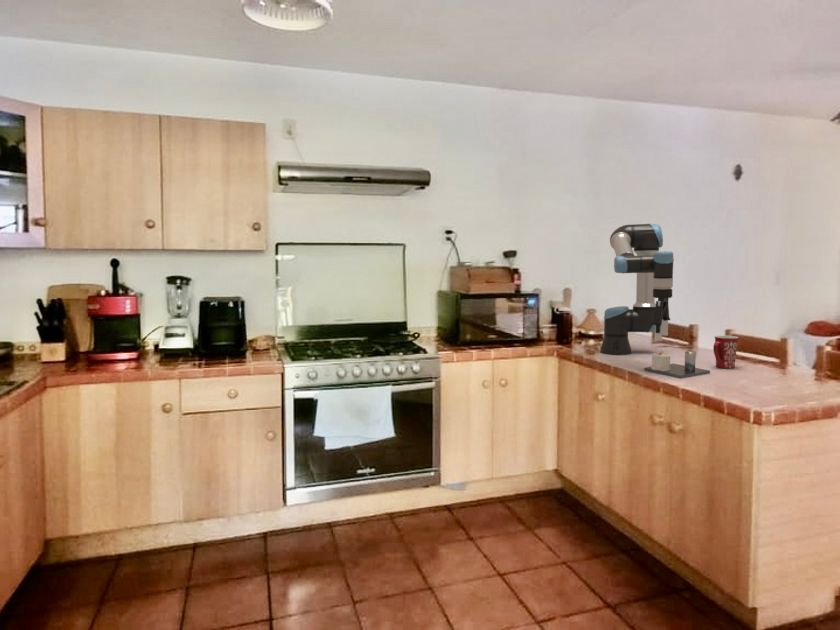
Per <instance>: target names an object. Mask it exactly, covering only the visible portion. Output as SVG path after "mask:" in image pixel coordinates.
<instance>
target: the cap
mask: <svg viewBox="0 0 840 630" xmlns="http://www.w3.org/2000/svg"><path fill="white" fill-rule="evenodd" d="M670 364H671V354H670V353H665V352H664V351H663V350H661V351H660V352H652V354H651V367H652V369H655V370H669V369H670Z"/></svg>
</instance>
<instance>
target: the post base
mask: <svg viewBox="0 0 840 630" xmlns="http://www.w3.org/2000/svg"><path fill="white" fill-rule="evenodd" d="M696 355H697V352H696V351H694V350H685V351H684V365H683V364H678V363H670V369H669V370H655V369H652V366H649V367H644V372H648V373H654V374H657V375H658V374H659V375H663V376H666V377H667V376H668V377H671V378H677V379H685V378H692V377H697V375H698V376H703V374H704V375H710V374H711V370H709V369H703V368H698V367H696V360H697V359H696Z"/></svg>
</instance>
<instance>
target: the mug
mask: <svg viewBox="0 0 840 630" xmlns="http://www.w3.org/2000/svg"><path fill="white" fill-rule="evenodd" d="M738 341H739V337H738V336H734V335H721V334H720V335H715V336H714V343H713V348H712V349H713V354H714V357H715V367H716V368H719V369H720V368H721V369H734V368H735V366H736V358H737V357H736V356H737V348H738Z"/></svg>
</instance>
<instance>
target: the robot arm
mask: <svg viewBox="0 0 840 630" xmlns="http://www.w3.org/2000/svg"><path fill="white" fill-rule="evenodd" d="M663 241H664V237H663V231H662V228H661V225H660V224H657V223H639V224H638V223H637V224H635V223H634V224H625V225H621V226H619V227H618V228H616V229H615V230H614V231H613V232H612V233H611V235H610V237H609V244H610V247H611V248H612V249H613V250H614V254H615V257H614V260H613V271H614V272H615V273H616V274H633V273H634V274H636V289H635V290H636V292H635V293H636V294H635V295H636V297H635V298H636V299H635V300H636V301H635V303H634V304H633V305H632V309H630V307H629V306H626V305H625V306H615V307H614V306H613V307H609V308H606V309H605V310H604V315H603V319H604V322H603V324H604V325H603V340H602V343H601V346H600V349H599V351H600V353H602V354H605V355H606V354H607V355H617V356H618V355H630V354H632V347H631V344H630V340H629V333H654V334H653V335H654V337H653V338H654V340H653V341H656V342H657V341H659V342H661V341H663V339H662V338H663V337H664V336H667V337H668V336H669V321H671V318H670V309H669V307H670V306H669V299H671V298H672V297H673V287H674V278H673V276H674V260H675V259H674V252H673V251H666V250H663V251H660V248H662V247H663V246H664V245H663V244H664V242H663ZM634 253H635V254H636V255H635V254H634ZM656 299H657V301H655V300H656ZM662 336H663V337H662Z"/></svg>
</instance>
